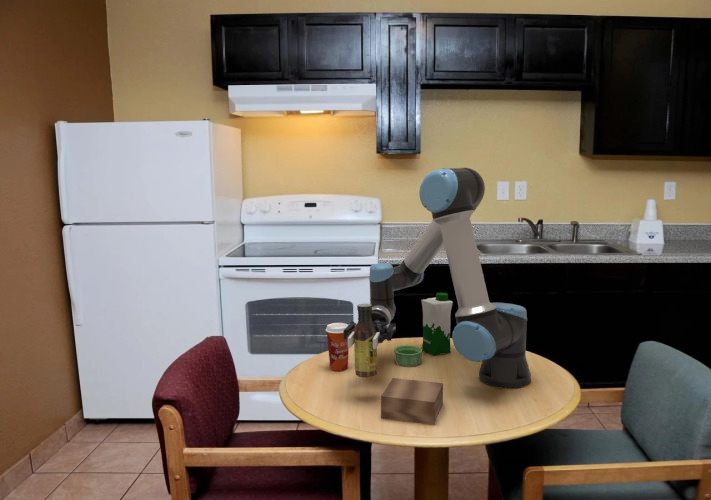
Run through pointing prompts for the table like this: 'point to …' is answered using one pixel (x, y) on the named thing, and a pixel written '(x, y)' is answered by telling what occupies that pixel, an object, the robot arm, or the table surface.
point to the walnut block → (412, 401)
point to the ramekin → (408, 355)
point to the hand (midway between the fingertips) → (361, 343)
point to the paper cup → (337, 346)
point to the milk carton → (436, 324)
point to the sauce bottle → (365, 343)
